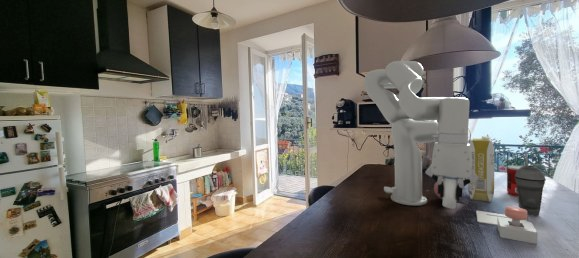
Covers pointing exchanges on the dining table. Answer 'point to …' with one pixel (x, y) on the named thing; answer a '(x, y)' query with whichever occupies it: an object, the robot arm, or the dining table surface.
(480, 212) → the paper
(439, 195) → the apple
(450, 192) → the marker
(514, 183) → the canned food
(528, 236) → the button box
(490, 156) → the juice carton
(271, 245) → the dining table surface
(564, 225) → the dining table surface
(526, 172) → the beverage cup
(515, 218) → the button
